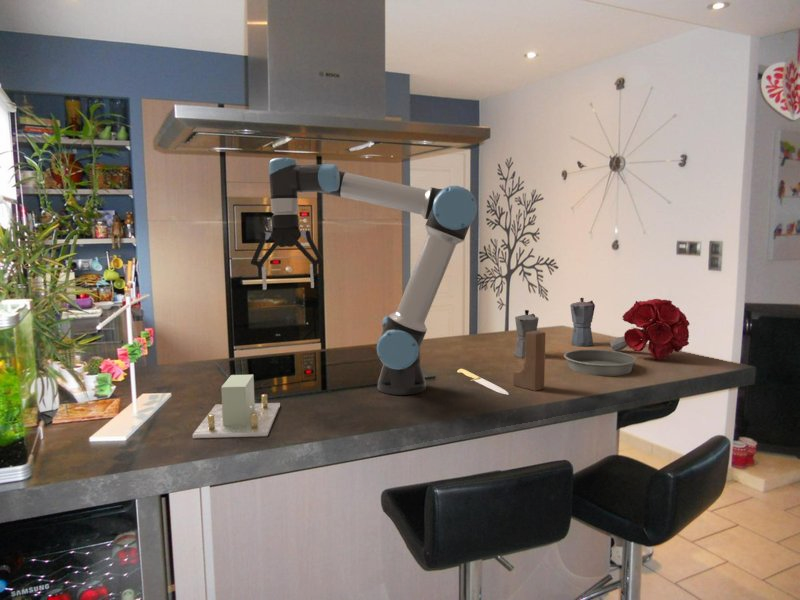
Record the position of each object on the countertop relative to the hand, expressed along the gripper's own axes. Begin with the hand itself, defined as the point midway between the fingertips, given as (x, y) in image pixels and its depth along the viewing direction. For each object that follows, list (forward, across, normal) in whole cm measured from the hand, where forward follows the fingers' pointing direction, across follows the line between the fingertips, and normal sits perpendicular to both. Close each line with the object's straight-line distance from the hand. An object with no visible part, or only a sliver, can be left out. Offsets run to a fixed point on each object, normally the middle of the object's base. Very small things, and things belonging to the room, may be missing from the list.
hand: (288, 288), depth 173 cm
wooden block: (+35, -73, -4) cm, 81 cm away
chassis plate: (+33, +13, +18) cm, 40 cm away
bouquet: (+36, -132, -39) cm, 142 cm away
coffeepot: (+35, -86, -48) cm, 105 cm away
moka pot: (+36, -116, -65) cm, 138 cm away
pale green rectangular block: (+32, +13, +18) cm, 39 cm away
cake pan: (+36, -106, -25) cm, 114 cm away
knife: (+35, -59, -12) cm, 70 cm away
